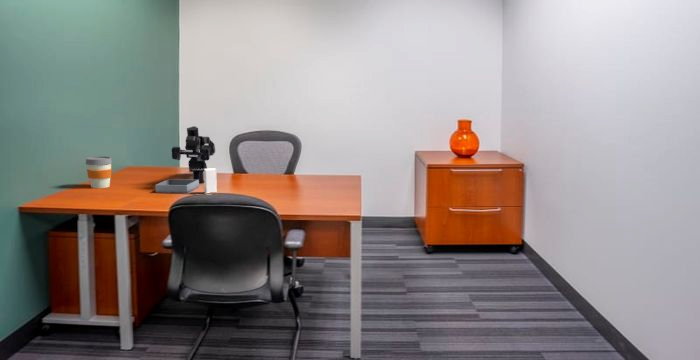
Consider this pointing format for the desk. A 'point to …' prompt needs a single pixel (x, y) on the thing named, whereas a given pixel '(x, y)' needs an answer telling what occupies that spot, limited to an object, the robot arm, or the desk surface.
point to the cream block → (210, 180)
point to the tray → (177, 186)
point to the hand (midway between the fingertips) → (187, 159)
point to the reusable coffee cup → (99, 171)
